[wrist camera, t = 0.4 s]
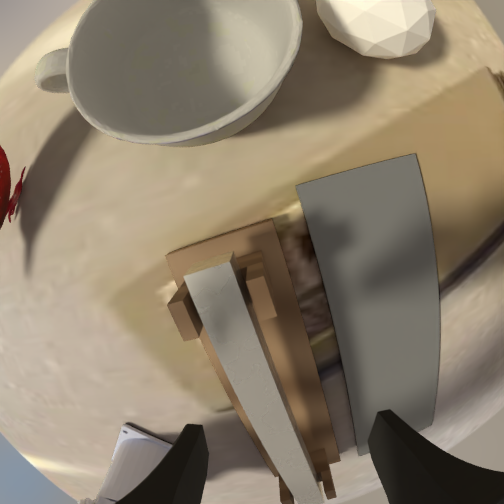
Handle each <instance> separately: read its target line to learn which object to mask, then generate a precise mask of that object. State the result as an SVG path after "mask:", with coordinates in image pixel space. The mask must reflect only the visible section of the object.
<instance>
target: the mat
mask: <svg viewBox="0 0 504 504" xmlns="http://www.w3.org/2000/svg"><path fill="white" fill-rule="evenodd" d="M295 187H296V190H297V193H298V196H299V199H300V203H301V206H302V209H303V212H304V216H305V219H306V222H307V226H308V229H309V233H310V236H311V240H312V243H313V247H314V250H315V254H316V257H317V261H318V265H319V269H320V272H321V276H322V280H323V284H324V288H325V292H326V295H327V299H328V304H329V308H330V312H331V316H332V320H333V324H334V329H335V333H336V337H337V342H338V346H339V351H340V356H341V360H342V365H343V370H344V375H345V380H346V385H347V390H348V396H349V401H350V407H351V412H352V418H353V424H354V430H355V436H356V443H357V450H358V456H362V455H365V454H367V453H370V450H369V446H368V442H367V441H368V438H369V435H370V432H371V429H372V426H373V424H374V421H375V417H376V414H377V412H379V411H383V410H388V409H390V410H392V411H393V412H394V413H395V414H396V415H398V416H399V417H400V418H401V419H402V420H403V421H404V422H406V423H407V424H408V425H409V426H410V427H412V428H413V429H414V430H415V431H416V432H419V431H421V430H423V429H425V428H427V427H429V426H430V425H432V421H433V415H434V408H435V400H436V391H437V381H438V367H439V345H440V313H439V290H438V276H437V266H436V256H435V248H434V241H433V234H432V227H431V221H430V216H429V210H428V205H427V200H426V195H425V191H424V186H423V182H422V178H421V174H420V170H419V166H418V162H417V158H416V155H415V154H411V155H406V156H402V157H398V158H394V159H390V160H386V161H382V162H378V163H375V164H371V165H367V166H363V167H359V168H356V169H352V170H348V171H345V172H341V173H338V174H334V175H331V176H327V177H324V178H320V179H317V180H313V181H310V182H306V183H303V184H300V185H297V186H295Z"/></svg>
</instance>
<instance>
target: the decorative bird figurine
mask: <svg viewBox="0 0 504 504" xmlns="http://www.w3.org/2000/svg"><path fill="white" fill-rule="evenodd" d="M25 167H26V166H25ZM25 167H24V169H23V171H22V174H21V178H20V180H19V182H18V183H17V184H16V186H15V190H14V194H13V196H12V198H11V199H10V200H9V197H10V189H11V177H10V167H9V162H8V160H7V157H6V154H5V152H4V150H3V149H2V147H1V146H0V229H1V227H2V225H3V222H4V219H5V217H6V215H7V213H8V212H9V214H8V219H9V222H10V223H11V218H10V216H11V215H13V214H14V210H15V206H16V204H17V200H18V198H19V196H20V193H21V191H22V179H23V174H24V170H25ZM9 210H10V211H9ZM12 210H13V211H12ZM11 213H12V214H11Z"/></svg>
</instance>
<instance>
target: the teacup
mask: <svg viewBox="0 0 504 504" xmlns="http://www.w3.org/2000/svg"><path fill="white" fill-rule="evenodd" d="M302 29H303V21H302V15H301V10H300V7H299V3H298V1H297V0H93V1H92V3H91V4H90V5H89V6H88V8H87V9H86V11H85V12H84V14H83V15H82V17H81V19H80V21H79V23H78V25H77V27H76V29H75V31H74V34H73V36H72V38H71V41H70V45H69V48H63V49H58V50H55V51H52V52H50V53H48V54H46V55H45V56H44V57H42V58H41V60H40V61H39V62H38V64H37V67H36V71H35V83H36V85H37V87H38V88H40V89H42V90H43V91H47V92H52V93H70V96H71V98H72V100H73V102H74V104H75V106H76V108H77V109H78V111H79V112H80V113H81V115H82V116H83V117H84V118H85V120H86V121H88V122H89V123H90V124H91V125H92V126H94V127H95V128H96V129H98V130H100V131H101V132H103V133H105V134H107V135H109V136H111V137H113V138H116V139H119V140H124V141H129V142H132V143H139V144H155V145H161V146H170V147H194V146H201V145H206V144H210V143H214V142H217V141H220V140H222V139H225V138H227V137H230V136H232V135H234V134H236V133H238V132H239V131H241V130H242V129H244V128H245V127H247V126H248V125H250V124H251V123H252V122H253V121H255V120H256V119H257V118H258V117H259V116H260V115H261V114H262V113H263V112H264V111H265V110H266V108H267V107H268V106H269V105H270V103H271V102H272V100H273V99H274V97H275V96H276V94H277V92H278V90H279V88H280V87H281V84H282V82H283V80H284V78H285V77H286V75H287V74H288V72H289V71H290V69H291V67H292V66H293V63H294V60H295V58H296V56H297V54H298V51H299V47H300V42H301V37H302Z"/></svg>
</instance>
